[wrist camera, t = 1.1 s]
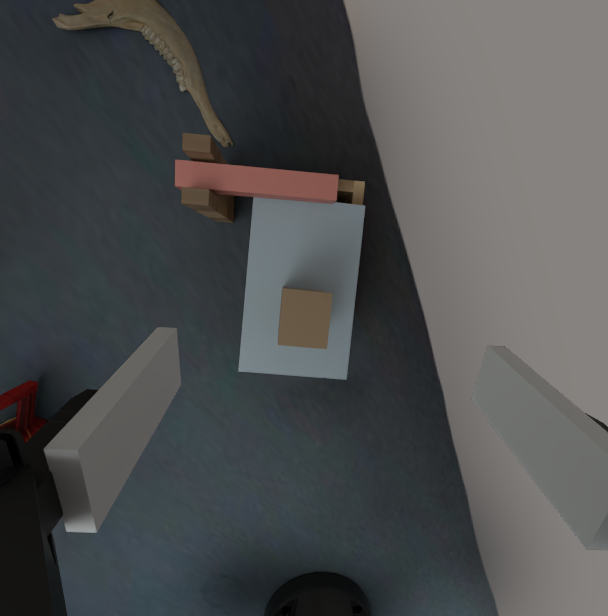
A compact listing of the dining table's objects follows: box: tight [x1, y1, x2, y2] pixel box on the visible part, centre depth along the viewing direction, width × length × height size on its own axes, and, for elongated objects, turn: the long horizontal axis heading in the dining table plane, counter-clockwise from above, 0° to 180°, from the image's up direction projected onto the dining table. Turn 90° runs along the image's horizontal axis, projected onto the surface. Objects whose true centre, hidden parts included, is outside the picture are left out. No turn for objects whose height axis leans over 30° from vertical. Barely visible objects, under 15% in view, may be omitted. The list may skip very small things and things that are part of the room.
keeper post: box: [182, 133, 234, 223], centre depth 32 cm, size 5×2×13 cm, turn 176°
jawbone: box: [53, 0, 234, 148], centre depth 35 cm, size 9×20×2 cm, turn 56°
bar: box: [175, 160, 339, 204], centre depth 28 cm, size 2×13×2 cm, turn 86°
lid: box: [239, 197, 365, 380], centre depth 28 cm, size 16×10×9 cm, turn 174°
